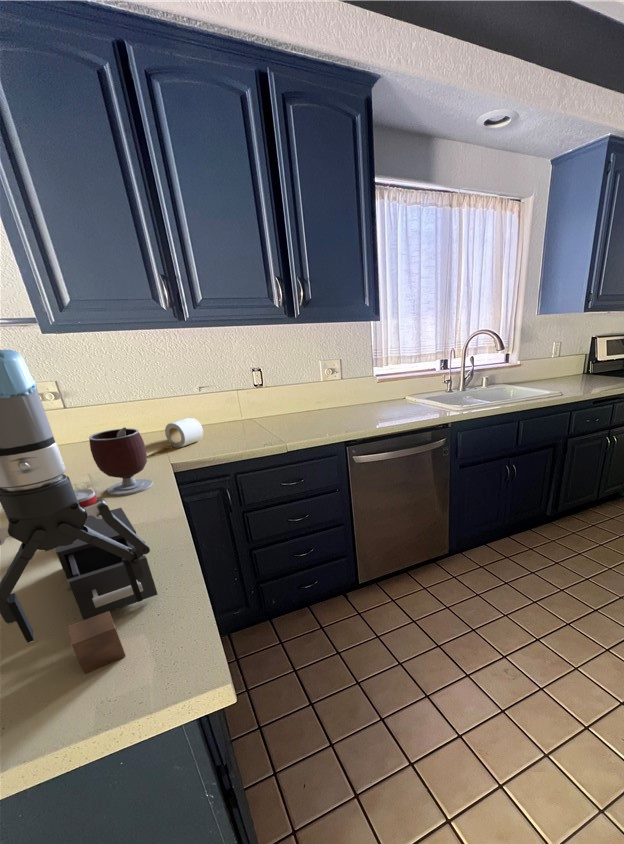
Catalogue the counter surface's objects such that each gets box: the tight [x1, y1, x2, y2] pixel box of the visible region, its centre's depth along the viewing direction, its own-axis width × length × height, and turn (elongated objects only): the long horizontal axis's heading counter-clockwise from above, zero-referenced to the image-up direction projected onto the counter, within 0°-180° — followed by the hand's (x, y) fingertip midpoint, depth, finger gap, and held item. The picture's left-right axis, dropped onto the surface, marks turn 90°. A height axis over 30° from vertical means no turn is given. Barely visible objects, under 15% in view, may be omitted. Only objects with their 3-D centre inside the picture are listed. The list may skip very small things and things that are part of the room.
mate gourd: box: [88, 426, 153, 497], centre depth 128 cm, size 16×14×20 cm
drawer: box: [67, 538, 158, 621], centre depth 77 cm, size 18×12×8 cm, turn 39°
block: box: [67, 611, 127, 675], centre depth 65 cm, size 6×6×6 cm
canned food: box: [74, 488, 98, 508], centre depth 100 cm, size 8×8×11 cm
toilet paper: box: [164, 417, 204, 449], centre depth 175 cm, size 10×10×10 cm
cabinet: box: [54, 507, 144, 581], centre depth 87 cm, size 15×13×10 cm
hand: (87, 616), depth 63 cm, fingers open, 13 cm apart
